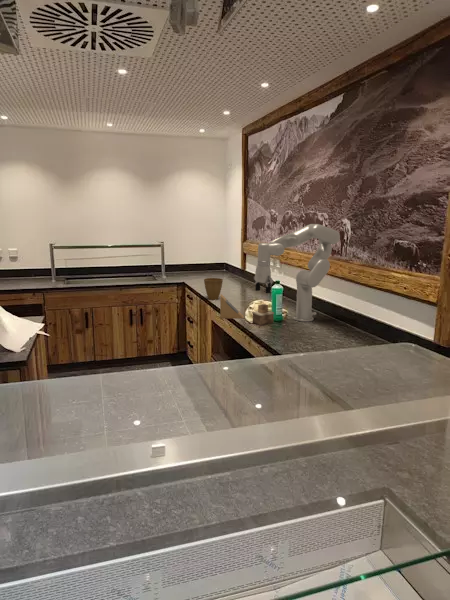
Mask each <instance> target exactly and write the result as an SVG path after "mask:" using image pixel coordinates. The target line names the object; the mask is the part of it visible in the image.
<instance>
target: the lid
mask: <svg viewBox="0 0 450 600" xmlns="http://www.w3.org/2000/svg"><path fill="white" fill-rule="evenodd" d="M257 309H258V310H257V311H256V310H255V311H251V314H252V315H253V314H256V315H259V316H263V315H269V314H273V315H274V314H275V312H274V311H271V310H269V304H266V303H262V304H258V305H257Z"/></svg>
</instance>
